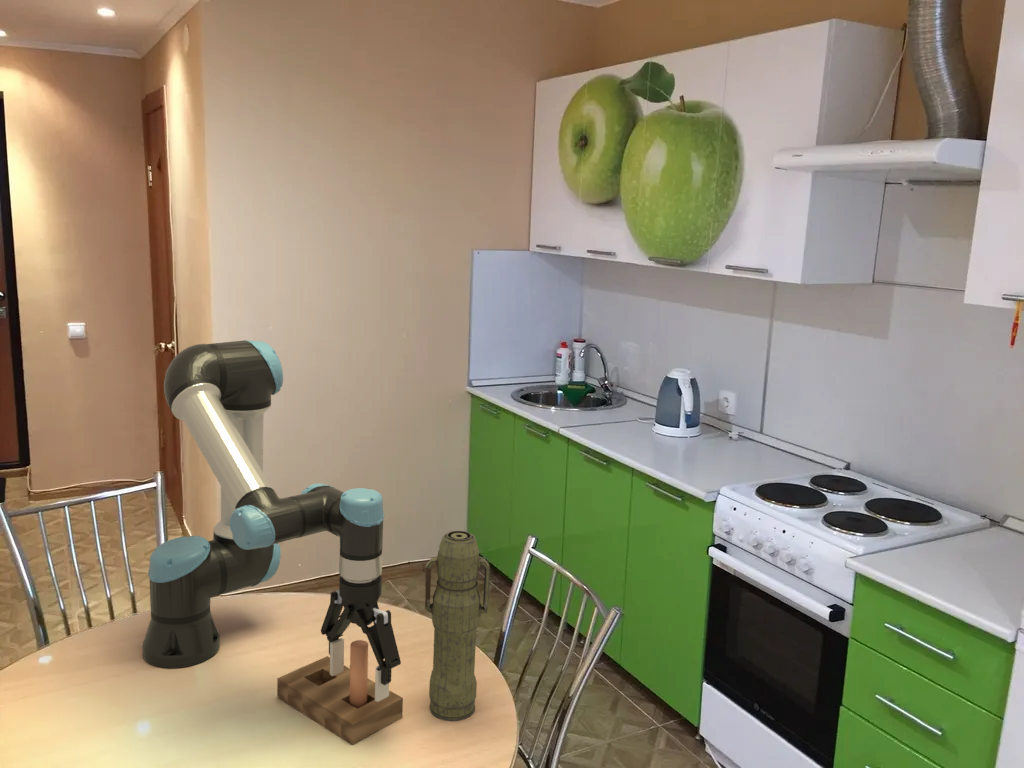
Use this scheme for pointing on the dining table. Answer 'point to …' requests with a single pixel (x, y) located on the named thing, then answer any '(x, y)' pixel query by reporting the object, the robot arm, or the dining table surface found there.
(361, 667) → the peg
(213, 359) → the robot arm
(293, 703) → the hole block
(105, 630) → the dining table surface
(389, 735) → the dining table surface
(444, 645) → the thermos
